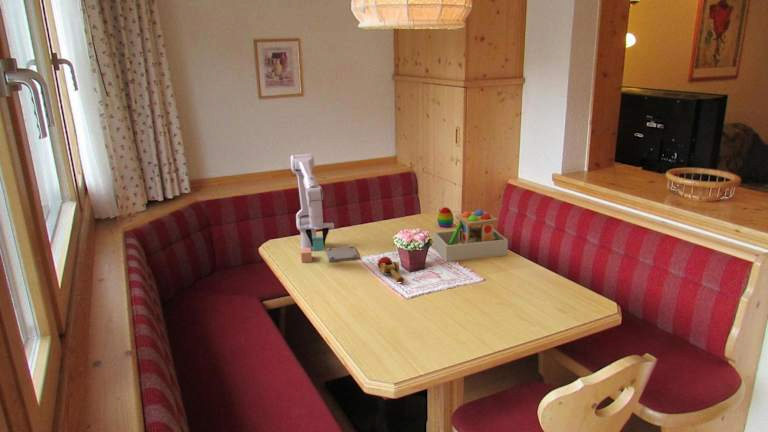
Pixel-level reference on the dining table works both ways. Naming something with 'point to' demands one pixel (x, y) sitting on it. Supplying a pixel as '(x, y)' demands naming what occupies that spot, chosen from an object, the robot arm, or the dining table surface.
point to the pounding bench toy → (480, 232)
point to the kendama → (390, 268)
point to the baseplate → (341, 254)
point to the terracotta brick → (306, 255)
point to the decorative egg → (445, 218)
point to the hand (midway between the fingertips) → (317, 245)
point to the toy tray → (469, 247)
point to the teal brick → (318, 244)
